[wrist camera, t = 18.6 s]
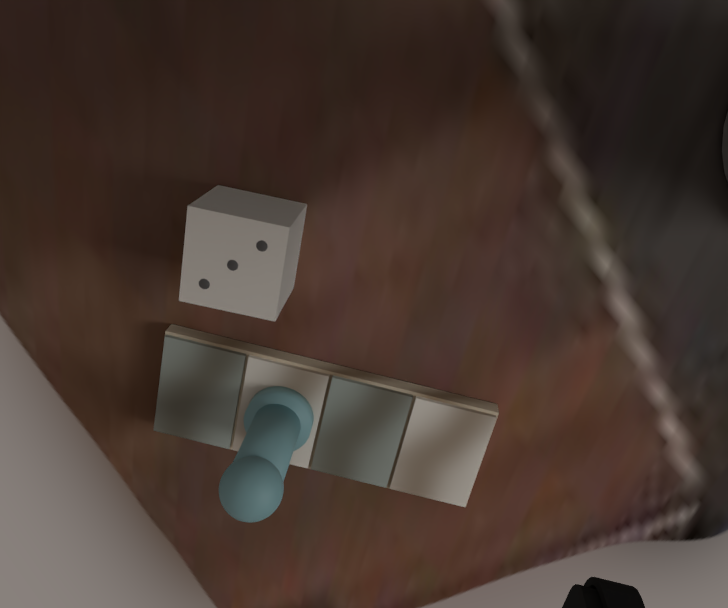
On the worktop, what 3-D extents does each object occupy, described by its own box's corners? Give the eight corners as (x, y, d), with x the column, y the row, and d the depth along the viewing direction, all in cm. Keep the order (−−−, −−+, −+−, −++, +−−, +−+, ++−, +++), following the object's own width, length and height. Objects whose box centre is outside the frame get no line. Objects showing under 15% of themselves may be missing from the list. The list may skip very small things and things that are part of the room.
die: (307, 203, 36) (289, 228, 32) (293, 289, 38) (274, 324, 34) (216, 184, 36) (184, 205, 32) (207, 270, 38) (176, 303, 34)
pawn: (319, 395, 39) (291, 486, 31) (306, 450, 41) (276, 551, 33) (253, 379, 39) (208, 466, 31) (243, 435, 41) (197, 531, 33)
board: (497, 404, 40) (499, 415, 38) (464, 496, 42) (465, 510, 41) (171, 324, 40) (163, 333, 39) (159, 421, 42) (151, 432, 41)
